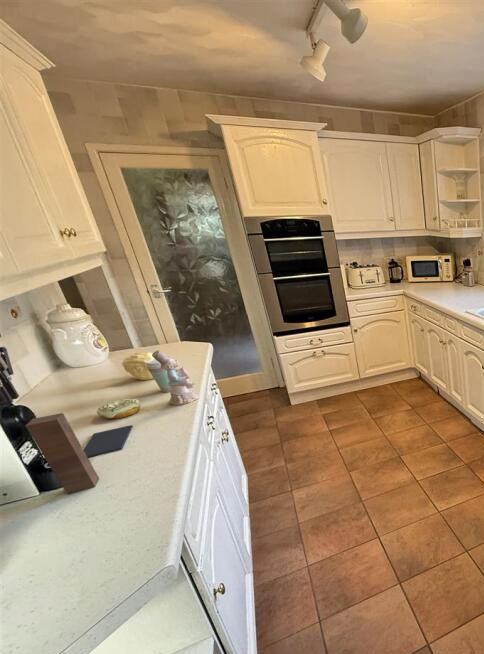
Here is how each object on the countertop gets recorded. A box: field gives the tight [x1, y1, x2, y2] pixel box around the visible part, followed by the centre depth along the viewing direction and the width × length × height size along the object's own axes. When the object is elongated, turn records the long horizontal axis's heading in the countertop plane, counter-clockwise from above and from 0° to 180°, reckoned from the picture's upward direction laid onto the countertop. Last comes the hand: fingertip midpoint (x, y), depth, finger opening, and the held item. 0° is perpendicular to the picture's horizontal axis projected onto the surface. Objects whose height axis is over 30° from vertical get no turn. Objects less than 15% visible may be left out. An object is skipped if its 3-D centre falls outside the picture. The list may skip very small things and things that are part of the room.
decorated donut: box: [96, 398, 141, 420], centre depth 132 cm, size 10×11×4 cm
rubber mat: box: [83, 424, 133, 459], centre depth 116 cm, size 16×9×1 cm, turn 33°
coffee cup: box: [146, 358, 178, 393], centre depth 149 cm, size 8×8×12 cm
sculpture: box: [121, 351, 155, 381], centre depth 161 cm, size 11×12×11 cm
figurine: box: [152, 350, 199, 406], centre depth 137 cm, size 9×8×20 cm
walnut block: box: [25, 412, 100, 495], centre depth 93 cm, size 4×5×19 cm
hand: (8, 401), depth 79 cm, fingers closed
